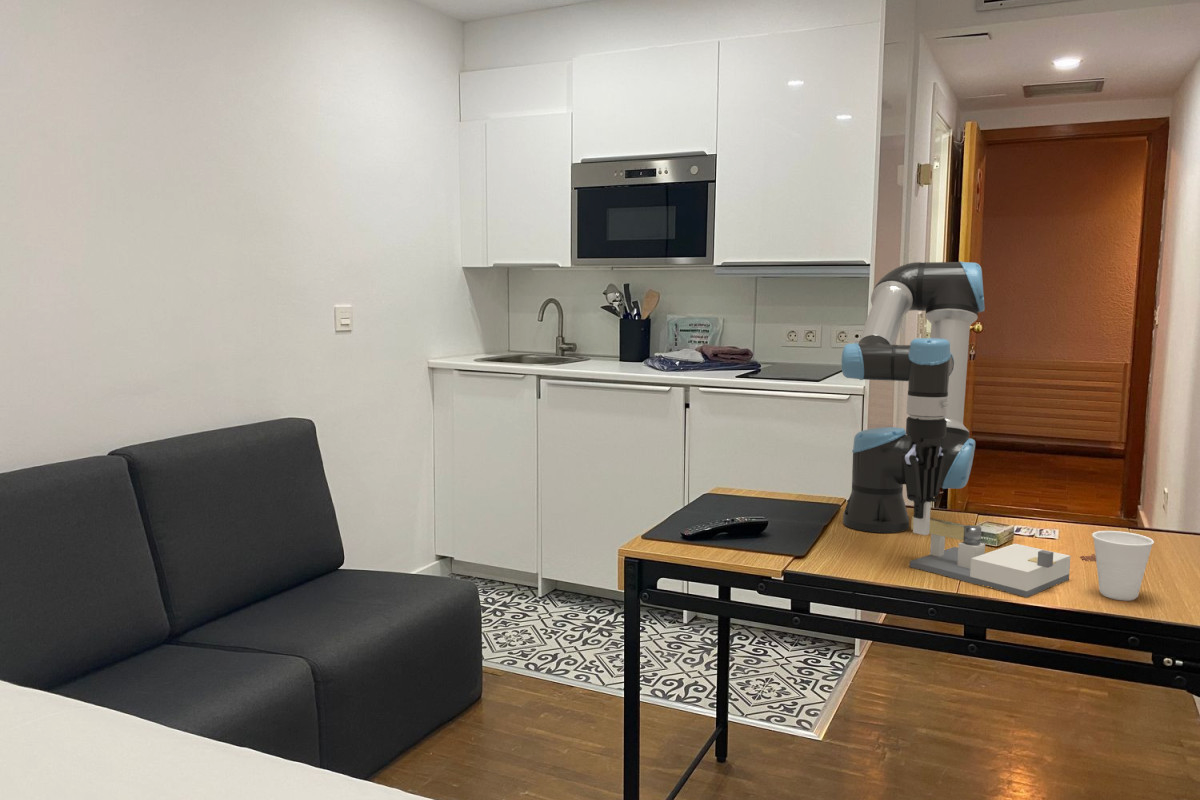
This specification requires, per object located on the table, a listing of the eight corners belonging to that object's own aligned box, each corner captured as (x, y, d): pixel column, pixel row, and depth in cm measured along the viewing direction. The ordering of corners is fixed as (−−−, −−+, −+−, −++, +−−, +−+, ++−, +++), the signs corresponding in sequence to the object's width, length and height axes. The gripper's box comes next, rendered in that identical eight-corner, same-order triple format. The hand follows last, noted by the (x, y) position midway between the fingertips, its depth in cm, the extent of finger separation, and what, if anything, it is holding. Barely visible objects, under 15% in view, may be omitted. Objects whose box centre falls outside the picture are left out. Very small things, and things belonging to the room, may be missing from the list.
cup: (1091, 600, 166) (1096, 541, 165) (1084, 584, 175) (1088, 528, 174) (1154, 607, 163) (1159, 547, 161) (1143, 590, 172) (1148, 533, 171)
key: (1073, 558, 195) (1099, 579, 181) (1073, 554, 195) (1099, 574, 181) (1103, 557, 194) (1131, 578, 180) (1103, 553, 194) (1131, 574, 180)
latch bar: (983, 542, 182) (984, 527, 182) (975, 545, 180) (976, 530, 180) (917, 527, 193) (918, 513, 193) (909, 530, 191) (909, 516, 191)
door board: (909, 566, 186) (911, 531, 185) (954, 552, 197) (955, 518, 196) (1031, 599, 167) (1034, 559, 166) (1074, 580, 178) (1076, 543, 177)
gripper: (925, 421, 174) (919, 542, 177) (961, 416, 183) (955, 531, 185) (890, 417, 180) (885, 534, 183) (927, 412, 188) (922, 524, 191)
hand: (921, 533), depth 184 cm, fingers closed
